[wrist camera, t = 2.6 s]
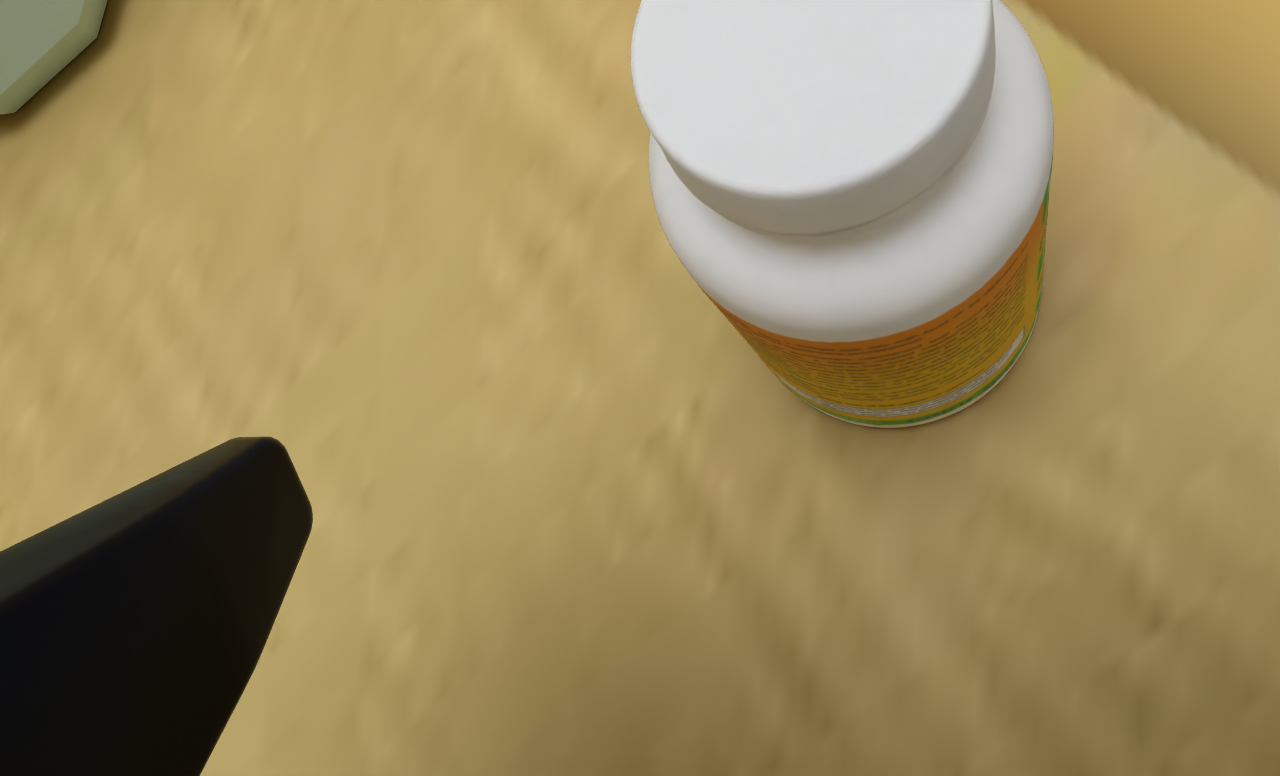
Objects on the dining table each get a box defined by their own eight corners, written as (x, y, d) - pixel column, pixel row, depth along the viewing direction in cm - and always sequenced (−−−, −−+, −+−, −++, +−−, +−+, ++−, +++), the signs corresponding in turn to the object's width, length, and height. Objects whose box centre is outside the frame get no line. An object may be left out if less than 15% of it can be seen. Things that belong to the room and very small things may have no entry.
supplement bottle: (1101, 342, 19) (1182, 74, 10) (834, 483, 20) (692, 353, 11) (948, 113, 21) (902, -283, 12) (710, 253, 22) (503, -17, 13)
